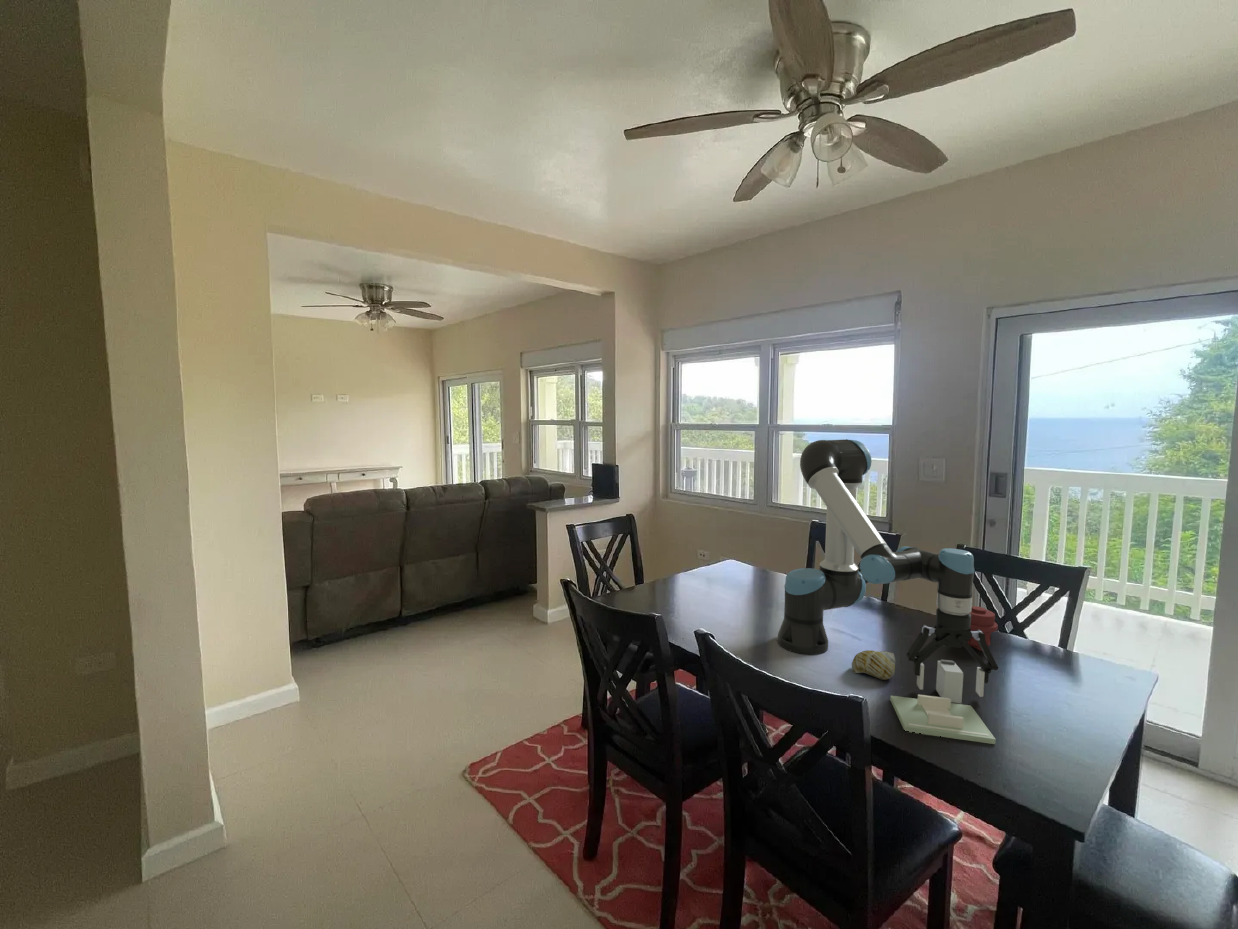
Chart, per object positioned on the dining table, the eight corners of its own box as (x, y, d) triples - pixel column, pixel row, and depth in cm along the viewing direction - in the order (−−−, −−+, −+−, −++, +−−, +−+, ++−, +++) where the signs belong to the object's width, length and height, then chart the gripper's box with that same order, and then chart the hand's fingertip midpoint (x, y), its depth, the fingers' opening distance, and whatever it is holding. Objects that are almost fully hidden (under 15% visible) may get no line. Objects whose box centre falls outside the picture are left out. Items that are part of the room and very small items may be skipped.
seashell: (842, 664, 152) (858, 633, 151) (871, 679, 152) (888, 649, 152) (859, 679, 141) (876, 647, 141) (890, 696, 142) (908, 663, 141)
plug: (943, 701, 133) (945, 668, 132) (935, 689, 139) (937, 658, 138) (961, 703, 132) (963, 670, 131) (952, 691, 138) (954, 660, 137)
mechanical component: (986, 641, 169) (1002, 654, 159) (952, 638, 171) (966, 651, 161) (989, 604, 168) (1005, 615, 158) (954, 601, 170) (968, 613, 160)
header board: (904, 731, 120) (905, 716, 120) (890, 700, 134) (890, 686, 133) (995, 744, 115) (996, 728, 115) (970, 710, 129) (971, 696, 129)
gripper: (903, 611, 133) (899, 691, 135) (1017, 620, 127) (1012, 705, 128) (895, 601, 140) (892, 677, 142) (1003, 610, 134) (998, 689, 136)
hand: (949, 690), depth 135 cm, fingers open, 13 cm apart
